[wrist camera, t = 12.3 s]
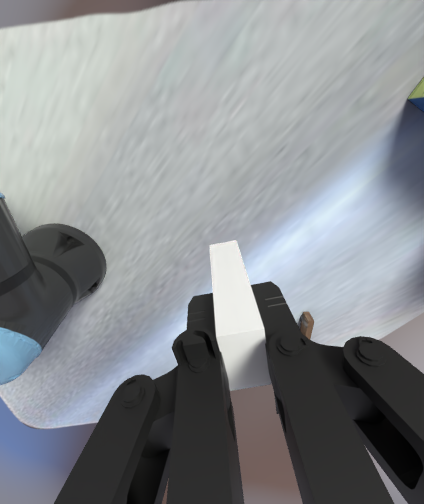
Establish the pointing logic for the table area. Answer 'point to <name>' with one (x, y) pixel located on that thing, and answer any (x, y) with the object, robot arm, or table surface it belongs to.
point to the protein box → (418, 96)
